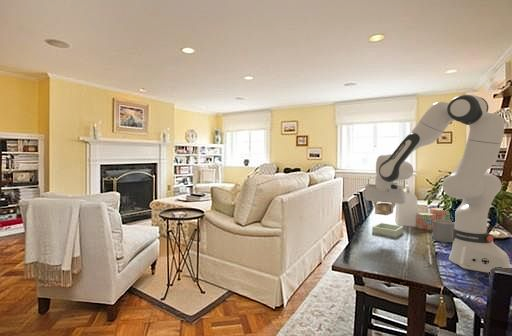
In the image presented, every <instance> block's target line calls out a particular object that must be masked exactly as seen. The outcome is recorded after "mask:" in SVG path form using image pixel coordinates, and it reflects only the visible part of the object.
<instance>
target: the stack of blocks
mask: <svg viewBox="0 0 512 336" xmlns="http://www.w3.org/2000/svg"><path fill="white" fill-rule="evenodd" d="M443 208H444V207H430V209H429V212H418V213H416V228H417V229H419V230H433V220H448V221H451V219H450V213H449V212H448V211H444V210H443Z"/></svg>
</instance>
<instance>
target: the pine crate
mask: <svg viewBox="0 0 512 336" xmlns="http://www.w3.org/2000/svg"><path fill="white" fill-rule="evenodd" d="M392 206H393V205H392V203H387V202H379V203H378V202H377V203H376V204H375V205H374V210H375V211H374V214H375V215H380V216H381V215H382V216H389V215H391V214H393V213H394V211H393V212H392V211H389V210H390V209H389V208H391V207H392Z"/></svg>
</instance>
